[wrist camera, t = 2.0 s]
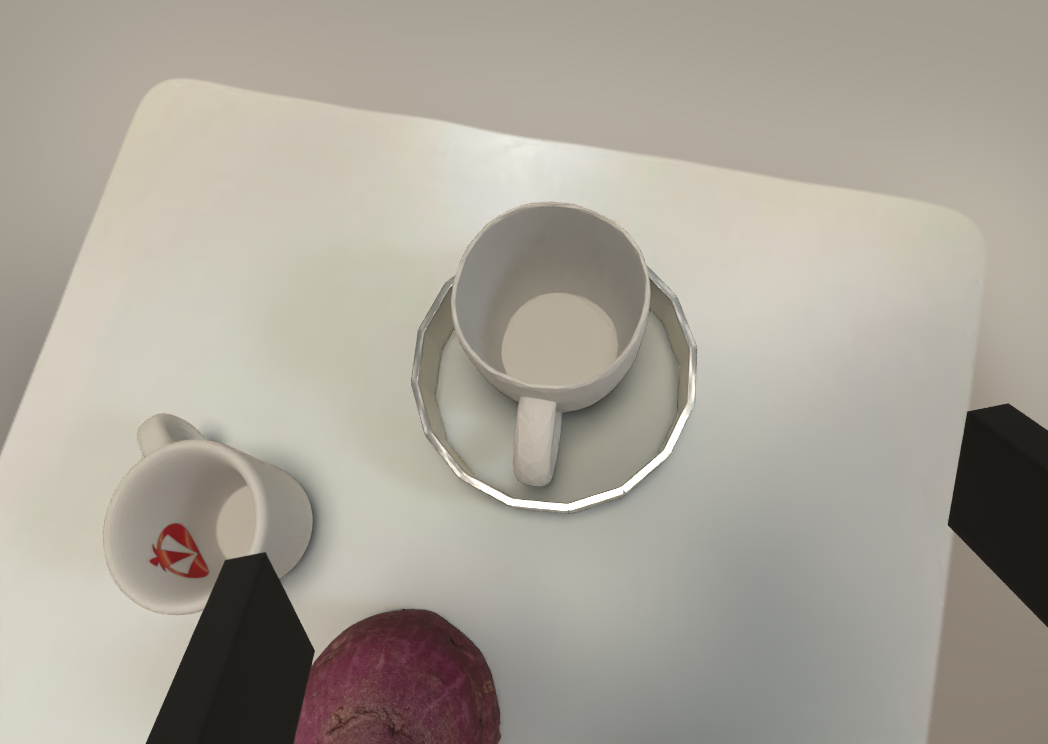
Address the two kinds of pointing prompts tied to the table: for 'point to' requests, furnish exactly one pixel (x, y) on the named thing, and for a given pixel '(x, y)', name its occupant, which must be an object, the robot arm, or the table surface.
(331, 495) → the table surface
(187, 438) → the cup
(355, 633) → the vegetable
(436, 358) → the ring
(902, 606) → the table surface
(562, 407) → the mug
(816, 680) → the table surface
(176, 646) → the table surface
